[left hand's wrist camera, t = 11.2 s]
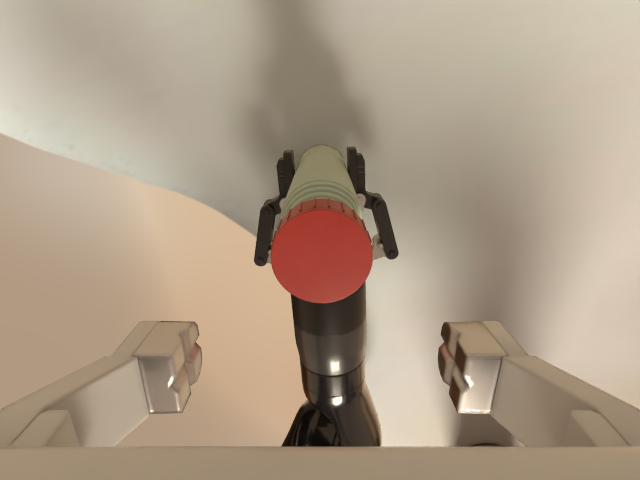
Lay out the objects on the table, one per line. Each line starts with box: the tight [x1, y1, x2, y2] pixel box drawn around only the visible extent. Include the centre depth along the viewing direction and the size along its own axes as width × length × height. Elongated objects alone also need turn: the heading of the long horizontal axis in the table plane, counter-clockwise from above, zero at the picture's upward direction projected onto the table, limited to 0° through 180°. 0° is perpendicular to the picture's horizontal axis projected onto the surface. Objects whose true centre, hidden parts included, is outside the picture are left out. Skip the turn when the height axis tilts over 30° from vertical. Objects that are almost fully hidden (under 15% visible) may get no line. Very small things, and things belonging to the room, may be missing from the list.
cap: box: [271, 198, 373, 303], centre depth 17 cm, size 5×5×2 cm
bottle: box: [280, 145, 363, 220], centre depth 27 cm, size 5×5×23 cm
